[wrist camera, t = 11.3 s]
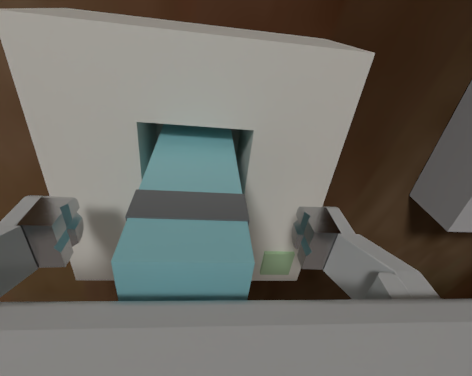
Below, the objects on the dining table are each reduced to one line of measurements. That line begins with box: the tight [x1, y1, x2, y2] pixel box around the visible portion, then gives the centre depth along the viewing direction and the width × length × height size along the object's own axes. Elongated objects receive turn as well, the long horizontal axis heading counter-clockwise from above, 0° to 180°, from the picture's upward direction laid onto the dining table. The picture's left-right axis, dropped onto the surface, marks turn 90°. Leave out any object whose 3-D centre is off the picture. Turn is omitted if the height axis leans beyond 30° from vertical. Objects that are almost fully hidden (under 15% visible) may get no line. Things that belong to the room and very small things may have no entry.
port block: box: [0, 8, 375, 281], centre depth 14 cm, size 12×12×5 cm
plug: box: [111, 124, 255, 301], centre depth 11 cm, size 4×3×10 cm
